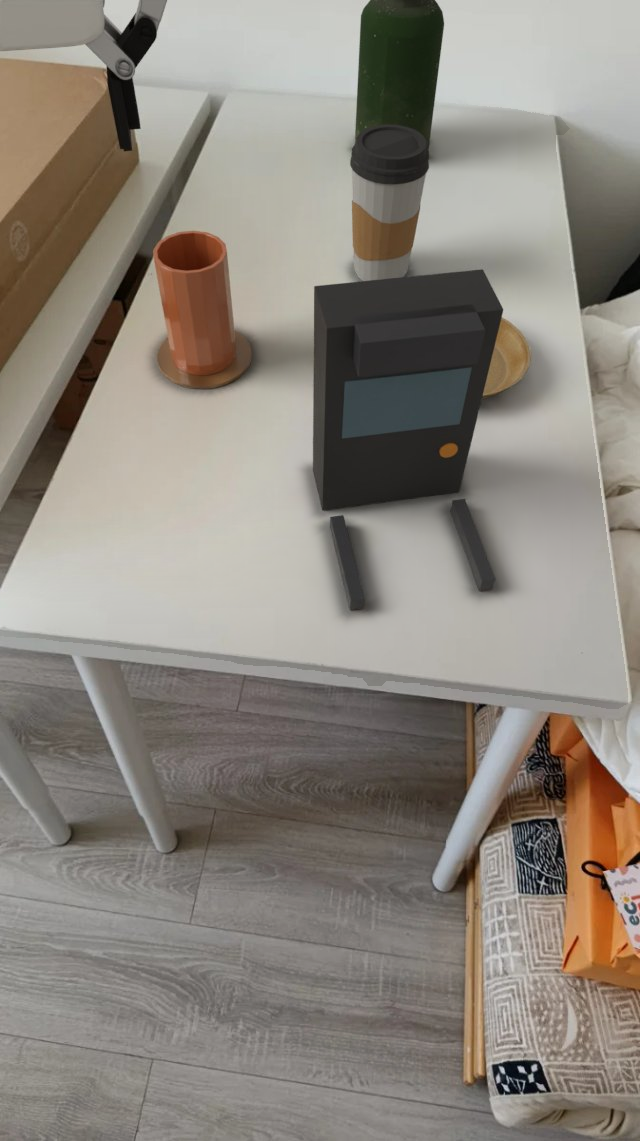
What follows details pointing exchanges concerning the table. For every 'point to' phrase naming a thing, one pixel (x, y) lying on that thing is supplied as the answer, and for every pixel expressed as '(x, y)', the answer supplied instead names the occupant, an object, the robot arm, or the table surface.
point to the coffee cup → (386, 198)
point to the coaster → (206, 381)
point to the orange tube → (196, 301)
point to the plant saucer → (507, 360)
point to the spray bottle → (398, 64)
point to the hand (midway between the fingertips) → (47, 146)
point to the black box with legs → (400, 398)
